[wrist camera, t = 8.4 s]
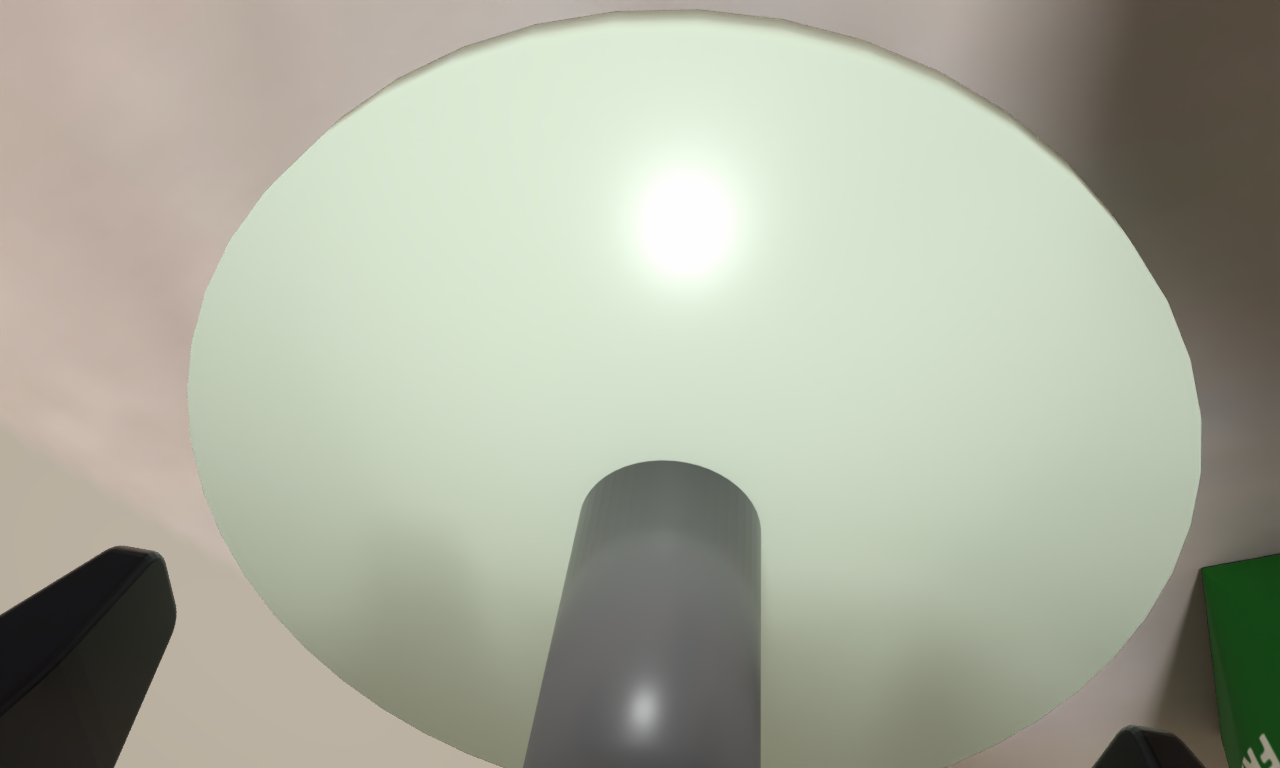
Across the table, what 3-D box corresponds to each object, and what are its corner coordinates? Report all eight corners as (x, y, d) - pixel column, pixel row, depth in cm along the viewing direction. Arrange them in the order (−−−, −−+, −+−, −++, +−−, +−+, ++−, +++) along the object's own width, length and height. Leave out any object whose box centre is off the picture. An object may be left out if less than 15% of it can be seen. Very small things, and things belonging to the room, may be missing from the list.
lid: (1414, 136, 12) (1858, 433, 7) (966, 818, 21) (1026, 1147, 16) (149, -98, 12) (-274, 39, 7) (257, 688, 21) (108, 981, 16)
